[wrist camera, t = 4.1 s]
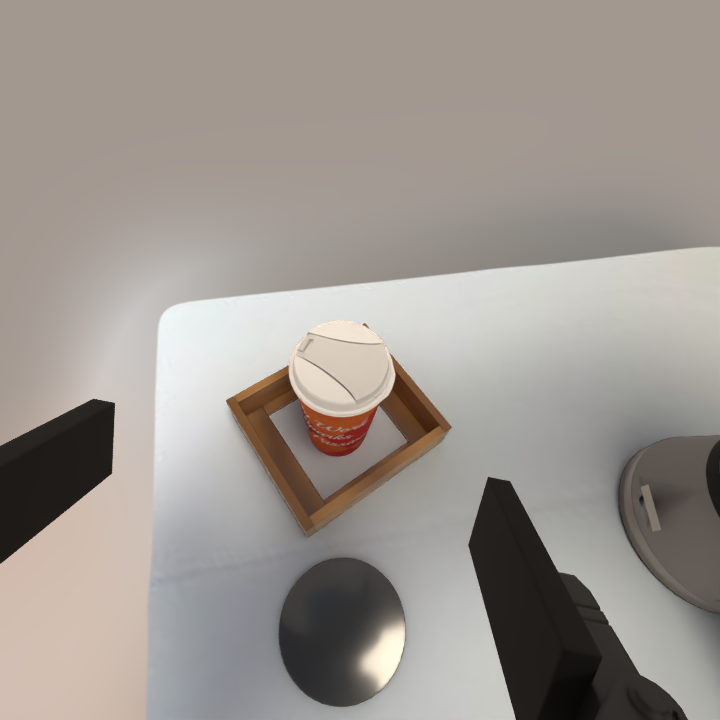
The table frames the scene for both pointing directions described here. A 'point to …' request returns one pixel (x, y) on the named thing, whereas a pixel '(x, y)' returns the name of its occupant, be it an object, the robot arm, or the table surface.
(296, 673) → the coaster
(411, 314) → the table surface
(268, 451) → the wooden frame
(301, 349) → the paper cup
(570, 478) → the table surface
